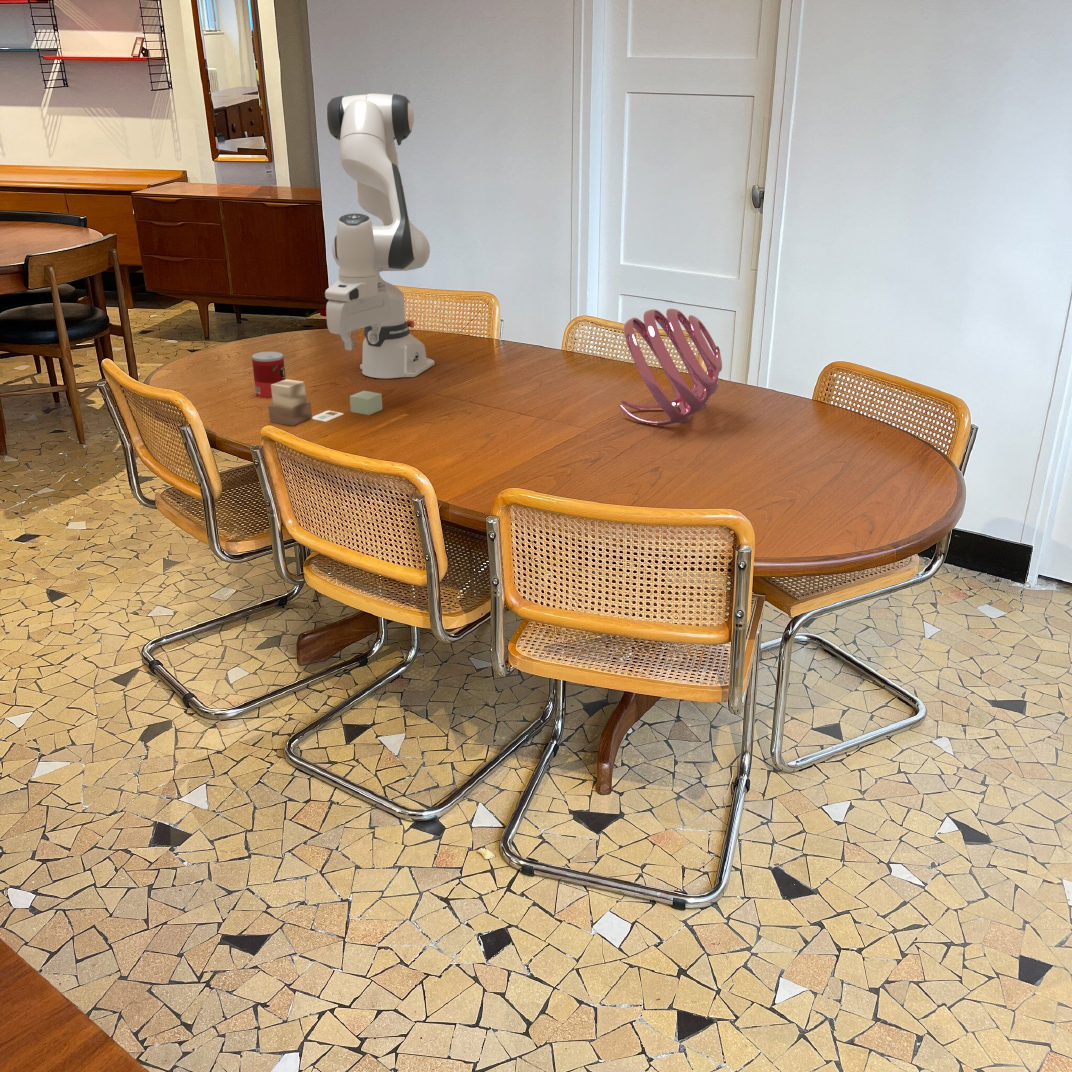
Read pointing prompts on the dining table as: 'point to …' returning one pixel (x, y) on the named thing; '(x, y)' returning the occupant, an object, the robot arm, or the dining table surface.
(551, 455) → the dining table surface
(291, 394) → the birch cube
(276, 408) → the walnut base
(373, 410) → the sage cube
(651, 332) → the spiral basket
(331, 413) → the board
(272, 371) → the canned food
